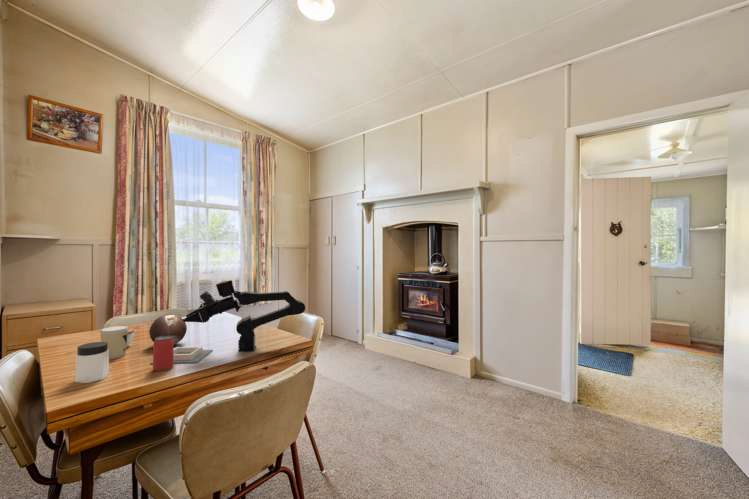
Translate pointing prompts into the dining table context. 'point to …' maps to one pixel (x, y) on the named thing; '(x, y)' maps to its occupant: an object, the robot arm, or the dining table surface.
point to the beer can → (163, 353)
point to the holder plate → (188, 355)
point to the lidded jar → (129, 336)
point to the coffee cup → (115, 340)
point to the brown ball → (168, 327)
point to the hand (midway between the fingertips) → (184, 318)
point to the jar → (92, 362)
